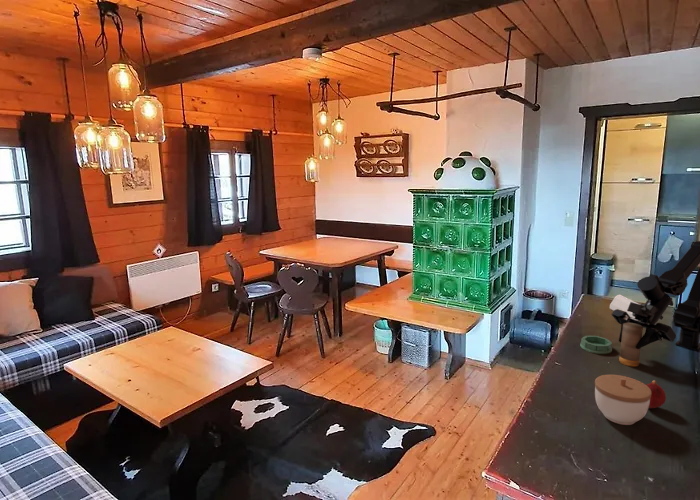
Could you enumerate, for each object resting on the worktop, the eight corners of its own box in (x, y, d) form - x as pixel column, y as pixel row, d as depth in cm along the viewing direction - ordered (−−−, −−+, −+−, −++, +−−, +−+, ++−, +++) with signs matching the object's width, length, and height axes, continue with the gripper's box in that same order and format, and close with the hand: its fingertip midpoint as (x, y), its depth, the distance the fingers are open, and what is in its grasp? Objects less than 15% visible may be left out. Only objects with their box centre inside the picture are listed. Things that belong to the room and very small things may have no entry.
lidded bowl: (583, 404, 123) (586, 367, 121) (629, 404, 123) (633, 367, 121) (607, 431, 111) (612, 391, 109) (659, 431, 111) (664, 391, 108)
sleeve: (622, 357, 151) (626, 321, 148) (641, 362, 147) (645, 325, 144) (616, 362, 147) (620, 325, 145) (635, 368, 143) (639, 330, 140)
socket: (587, 340, 165) (588, 332, 165) (616, 348, 158) (617, 340, 157) (575, 347, 159) (575, 340, 159) (605, 356, 152) (605, 349, 151)
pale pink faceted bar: (603, 299, 198) (637, 319, 175) (617, 291, 198) (654, 310, 174) (610, 313, 200) (645, 334, 176) (624, 305, 199) (662, 325, 175)
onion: (668, 414, 117) (671, 387, 116) (644, 412, 119) (647, 385, 117) (657, 403, 123) (661, 376, 121) (635, 401, 124) (638, 375, 123)
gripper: (617, 286, 152) (591, 322, 150) (674, 302, 135) (646, 342, 133) (631, 304, 157) (606, 339, 155) (687, 322, 140) (660, 361, 138)
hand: (627, 344), depth 145 cm, fingers closed on sleeve, 5 cm apart
